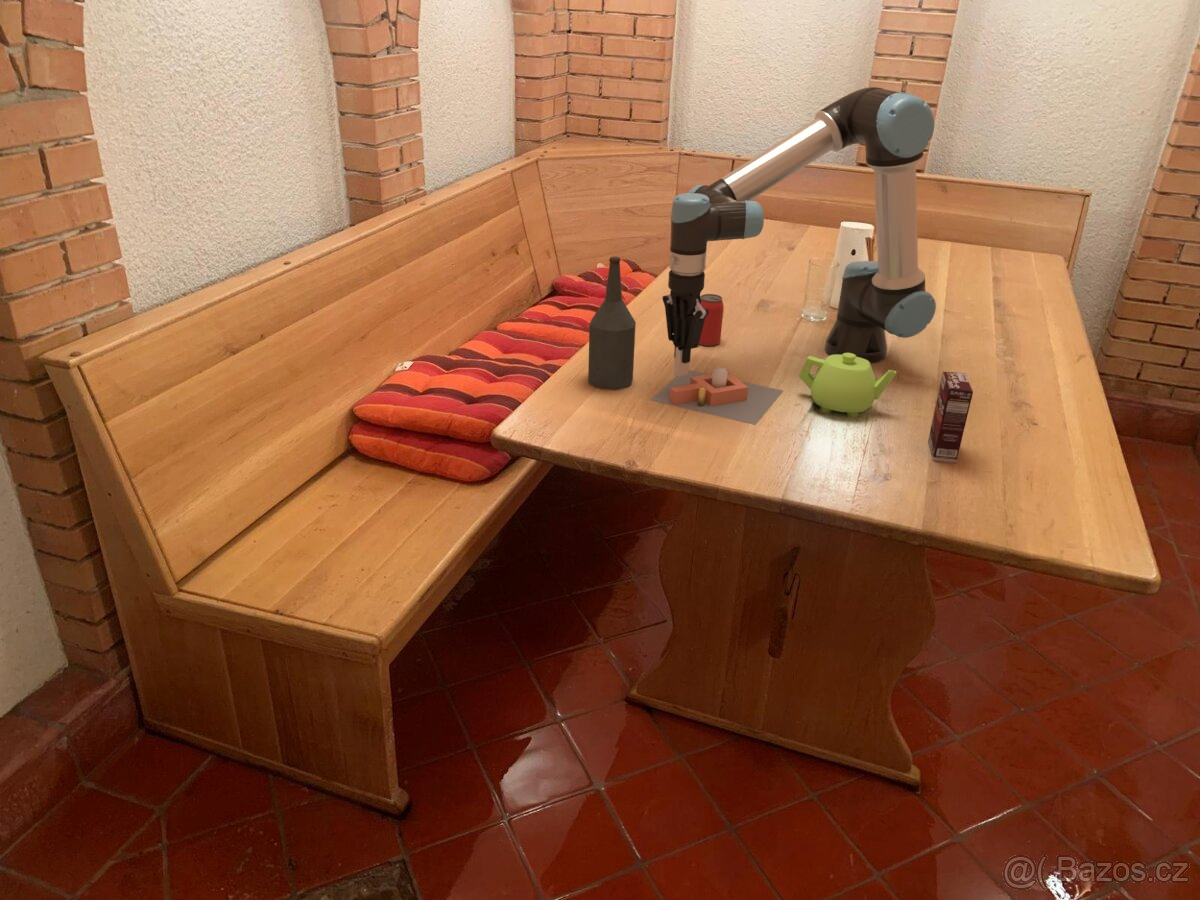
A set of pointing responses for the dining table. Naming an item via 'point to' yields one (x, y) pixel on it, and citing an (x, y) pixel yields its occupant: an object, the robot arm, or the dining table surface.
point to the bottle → (612, 338)
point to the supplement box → (950, 416)
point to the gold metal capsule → (701, 396)
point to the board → (739, 411)
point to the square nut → (710, 391)
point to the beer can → (712, 319)
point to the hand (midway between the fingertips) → (681, 374)
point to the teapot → (844, 383)
